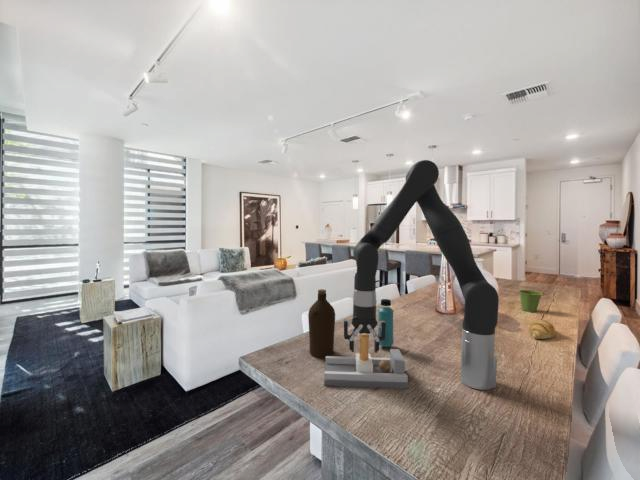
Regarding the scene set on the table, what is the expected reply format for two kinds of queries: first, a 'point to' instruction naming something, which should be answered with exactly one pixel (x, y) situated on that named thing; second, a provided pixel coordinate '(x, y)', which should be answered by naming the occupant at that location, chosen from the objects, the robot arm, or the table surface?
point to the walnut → (384, 366)
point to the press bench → (345, 374)
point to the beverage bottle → (387, 316)
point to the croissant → (541, 329)
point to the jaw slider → (364, 356)
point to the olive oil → (321, 327)
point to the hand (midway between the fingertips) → (363, 351)
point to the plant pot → (529, 300)
